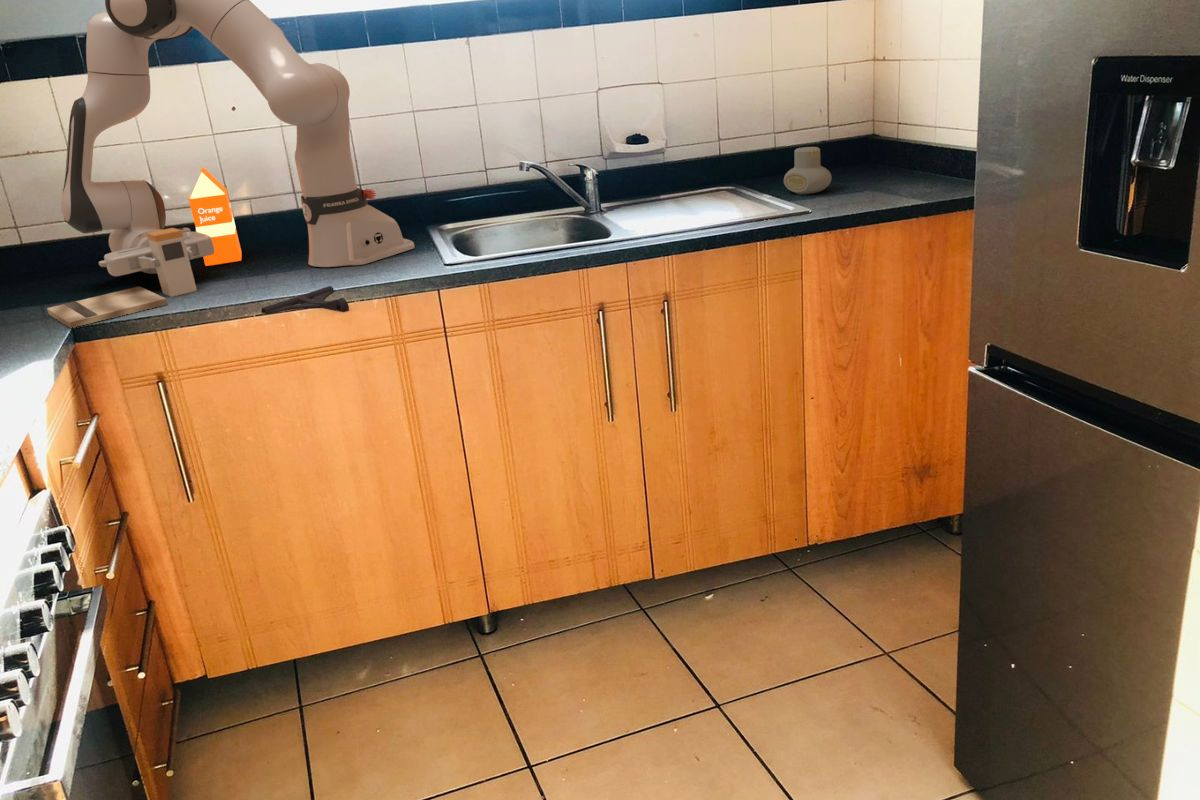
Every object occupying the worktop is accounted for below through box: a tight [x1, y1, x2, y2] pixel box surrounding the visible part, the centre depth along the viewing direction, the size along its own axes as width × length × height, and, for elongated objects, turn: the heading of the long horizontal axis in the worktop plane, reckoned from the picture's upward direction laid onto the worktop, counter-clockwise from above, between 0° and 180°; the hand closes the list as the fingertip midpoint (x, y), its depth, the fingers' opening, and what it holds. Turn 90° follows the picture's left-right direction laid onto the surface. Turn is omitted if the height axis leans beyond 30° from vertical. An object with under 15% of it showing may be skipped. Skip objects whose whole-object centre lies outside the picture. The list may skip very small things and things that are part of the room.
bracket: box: [260, 285, 350, 315], centre depth 167 cm, size 14×15×3 cm
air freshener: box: [783, 146, 833, 196], centre depth 221 cm, size 11×8×10 cm
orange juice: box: [188, 166, 243, 267], centre depth 208 cm, size 8×9×20 cm
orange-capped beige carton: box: [146, 227, 198, 298], centre depth 184 cm, size 5×5×12 cm
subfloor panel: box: [46, 286, 168, 329], centre depth 179 cm, size 17×16×1 cm
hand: (172, 259), depth 184 cm, fingers closed on orange-capped beige carton, 5 cm apart
